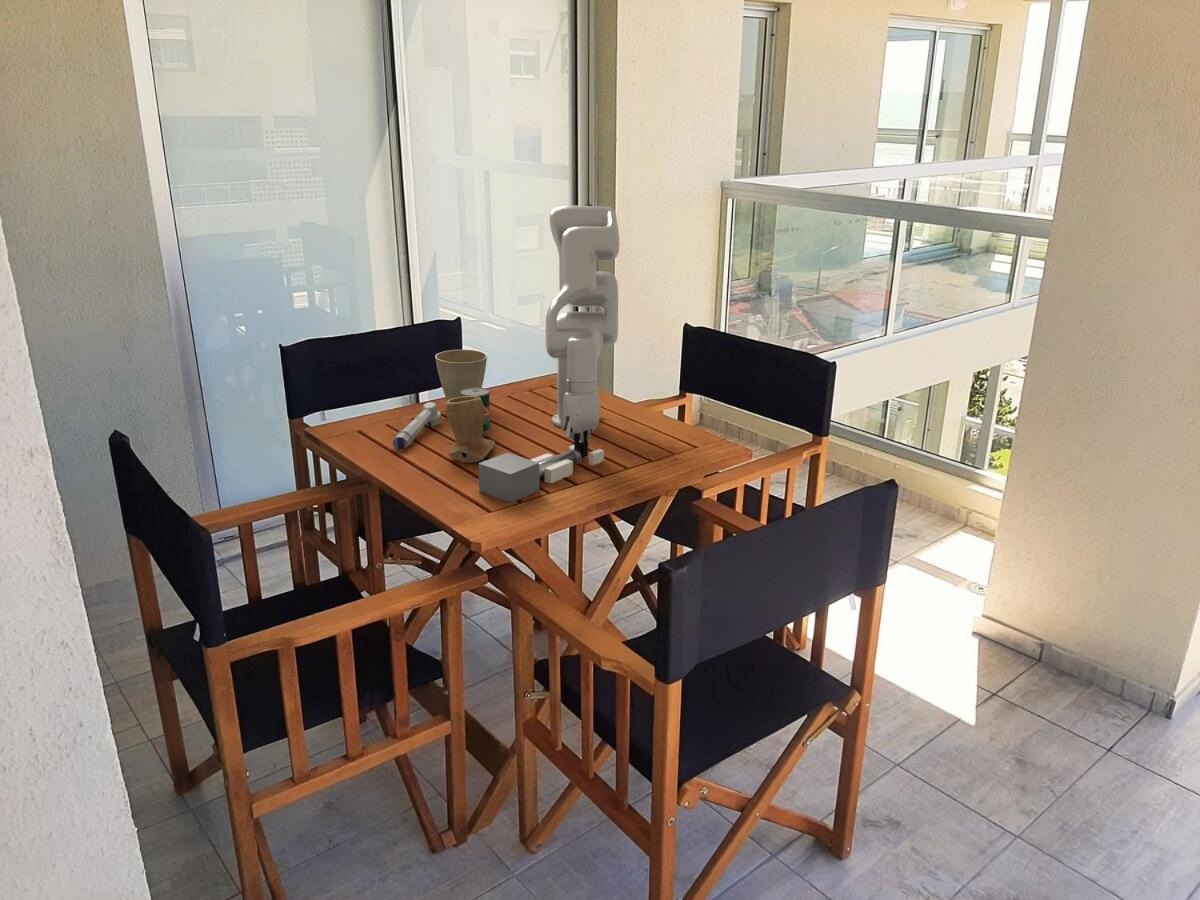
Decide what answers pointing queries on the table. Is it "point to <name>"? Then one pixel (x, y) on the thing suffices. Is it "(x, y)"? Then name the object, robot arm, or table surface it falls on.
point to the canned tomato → (484, 396)
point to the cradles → (566, 465)
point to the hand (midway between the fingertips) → (581, 455)
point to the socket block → (508, 477)
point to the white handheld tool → (417, 425)
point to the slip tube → (569, 455)
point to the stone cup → (468, 429)
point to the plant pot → (460, 370)
